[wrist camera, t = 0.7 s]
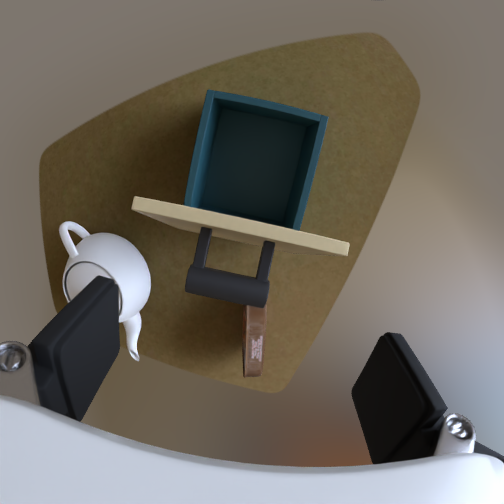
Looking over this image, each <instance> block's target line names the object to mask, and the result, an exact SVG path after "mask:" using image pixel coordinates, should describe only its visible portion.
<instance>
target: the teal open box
mask: <svg viewBox="0 0 504 504" xmlns="http://www.w3.org/2000/svg"><path fill="white" fill-rule="evenodd" d="M327 121H328V117H327V116H324V115H320V114H317V113H313V112H310V111H306V110H302V109H299V108H295V107H291V106H287V105H283V104H279V103H275V102H270V101H266V100H261V99H257V98H252V97H247V96H242V95H236V94H231V93H225V92H219V91H213V90H207V94H206V98H205V102H204V106H203V110H202V115H201V119H200V123H199V128H198V132H197V137H196V142H195V147H194V151H193V156H192V161H191V166H190V172H189V177H188V182H187V188H186V193H185V199H184V205H183V206H188V207H193V208H198V209H202V210H207V211H212V212H217V213H222V214H226V215H231V216H235V217H240V218H245V219H249V220H254V221H258V222H263V223H267V224H272V225H276V226H280V227H285V228H289V229H293V230H298V231H299V230H300V227H301V223H302V219H303V216H304V212H305V208H306V204H307V201H308V197H309V193H310V189H311V186H312V182H313V178H314V174H315V170H316V166H317V162H318V158H319V154H320V150H321V146H322V142H323V138H324V134H325V130H326V126H327Z"/></svg>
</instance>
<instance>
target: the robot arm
mask: <svg viewBox="0 0 504 504" xmlns="http://www.w3.org/2000/svg"><path fill="white" fill-rule="evenodd" d="M119 349H120V339H119V287H118V285H117V284H115V282H114V280H113V279H111V278H107V277H103V276H100V275H98V276H96V277H95V278H94V279H93V280H92V281H91V282H90V283H89V284H88V285H87V286H86V287H85V288H84V289H83V290H82V291H80V292H79V293H78V294H77V295H76V296H75V297H74V298H73V299H72V300H71V301H70V302H69V303H68V304H67V305H66V306H65V307H64V308H63V309H62V310H61V311H60V312H59V313H58V314H57V315H56V316H55V317H54V318H53V319H52V320H51V321H50V322H49V323H48V324H47V325H46V326H45V327H44V329H43V330H42V331H41V332H40V333H39V334H38V335H37V336H36V337H35V338H34V339H33V340H32V342H31V343H30V344H29V345H28V347H27V346H26V345H24V344H23V343H20V342H17V341H6V342H2V343H0V504H504V456H502V455H500V454H499V453H497V452H495V451H493V450H491V449H489V448H487V447H485V446H484V445H482V444H480V443H478V442H476V441H475V436H476V431H475V429H474V426H473V425H472V423H471V422H470V421H469V420H468V419H467V418H466V417H464V416H463V415H460V414H456V413H452V414H449V415H448V416H446V417H445V418H444V416H443V414H444V413H445V411H446V410H447V406H446V405H445V403H444V401H443V399H442V398H441V396H440V394H439V393H438V391H437V389H436V388H435V386H434V384H433V383H432V381H431V379H430V378H429V376H428V375H427V373H426V371H425V370H424V368H423V367H422V365H421V363H420V362H419V360H418V359H417V357H416V356H415V354H414V353H413V351H412V349H411V348H410V347H409V345H408V343H407V342H406V340H405V339H404V337H403V336H402V335H401V334H398V333H390V332H387V333H385V334H384V336H381V337H380V338H379V340H378V342H377V344H376V346H375V348H374V350H373V352H372V354H371V355H370V357H369V359H368V361H367V363H366V365H365V367H364V369H363V370H362V372H361V374H360V376H359V377H358V379H357V381H356V383H355V384H354V386H353V388H352V399H353V401H354V404H355V408H356V411H357V414H358V417H359V420H360V424H361V427H362V430H363V433H364V436H365V440H366V443H367V446H368V450H369V453H370V456H371V460H372V463H373V465H362V466H344V467H289V466H272V465H258V464H249V463H240V462H233V461H225V460H219V459H213V458H206V457H201V456H196V455H190V454H186V453H181V452H176V451H172V450H168V449H164V448H160V447H156V446H152V445H148V444H145V443H141V442H138V441H135V440H131V439H128V438H125V437H122V436H118V435H115V434H112V433H109V432H106V431H103V430H101V429H98V428H95V427H92V426H89V425H87V424H84V423H82V422H80V421H81V420H82V419H83V417H84V415H85V413H86V411H87V409H88V407H89V406H90V404H91V402H92V400H93V398H94V396H95V395H96V393H97V391H98V389H99V387H100V385H101V384H102V381H103V380H104V378H105V376H106V375H107V373H108V371H109V369H110V367H111V366H112V364H113V362H114V361H115V359H116V357H117V355H118V353H119Z"/></svg>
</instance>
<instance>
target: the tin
mask: <svg viewBox="0 0 504 504" xmlns="http://www.w3.org/2000/svg"><path fill="white" fill-rule="evenodd" d="M266 319H267V307H266V305H265V307H264V308H258V307H253V306H248V305H243V336H242V340H243V342H242V352H243V376H244V377H257V376H261V374H262V370H263V362H264V351H265V337H266Z"/></svg>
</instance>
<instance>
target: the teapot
mask: <svg viewBox="0 0 504 504" xmlns="http://www.w3.org/2000/svg"><path fill="white" fill-rule="evenodd" d="M68 230H71V231H73V232H75V233H77V234H78V235H79V236H80V237H81V238H82V239H83V240H82V241H81V242H80V243H78V244H77V245H76V247H75V246H74V244H73V242H72V240H71V238H70V235H69V233H68ZM59 234H60V237H61V239H62V242H63V244H64V246H65V248H66V250H67V252H68V253H69V255H70V256H69V259H68V261H67V264H66V267H65V270H64V274H63V290H64V294H65V296H66V299H67V301H68V303H69V302H70V301H71V300H72V299H73V298H74V297H75V296H76V295H77V294H78V293H79V292H80V291H82V290H83V289H84V288H85V287H86V286H87V285H88V284H89V283H90V282H91V281H92V280H93V279H94V278H95V277H96V276H98V275H100V276H103V277H107V278H111V279H113V280H114V282H115V284H117V285H118V287H119V323H120V322H123V325H124V327H125V330H126V334H127V347H128V350H129V353H130V354H131V356H132V357H133V358H134V359H135V360H137V361H139V355H138V352H137V339H138V336H139V333H140V329H141V317H140V313H139V311H140V310H141V309H142V308H143V307H144V305H145V304H146V302H147V300H148V297H149V294H150V289H151V279H150V273H149V269H148V266H147V264H146V262H145V260H144V258H143V256H142V255H141V253H140V252H139V251H138V249H137V248H136V247H135V246H134V245H133V244H132V243H130V242H129V241H127V240H126V239H125V238H122V237H120V236H118V235H115V234H111V233H96V234H92V235H90V234H89V233H88V232H87V231H86V230H85V229H84V228H83V227H82V226H80V225H79V224H77V223H75V222H72V221H67V222H64V223H62V224H61V225H60V228H59Z"/></svg>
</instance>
